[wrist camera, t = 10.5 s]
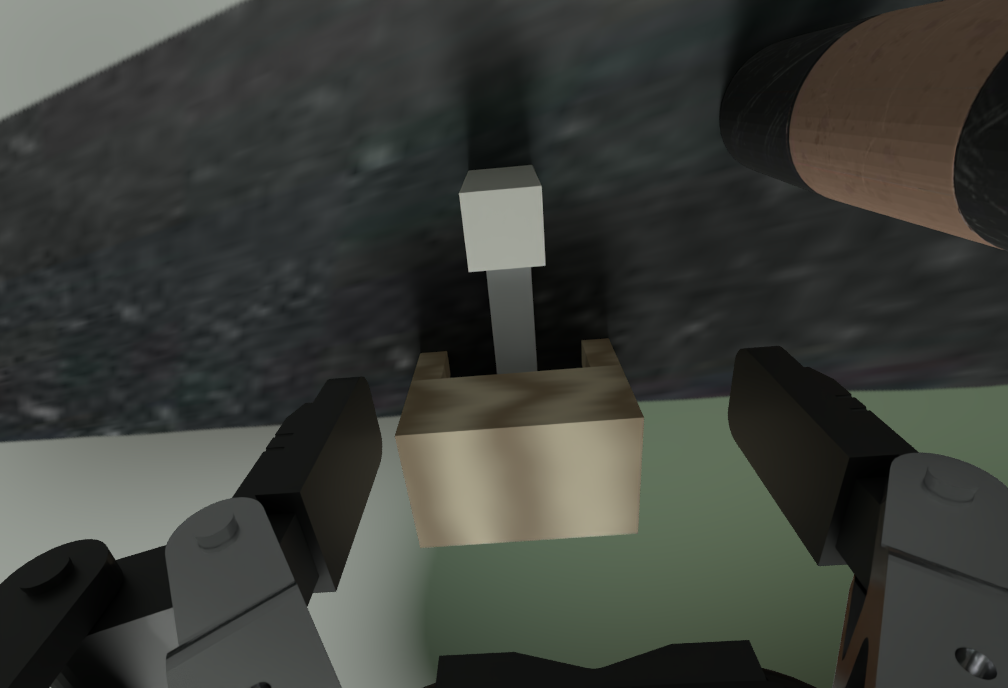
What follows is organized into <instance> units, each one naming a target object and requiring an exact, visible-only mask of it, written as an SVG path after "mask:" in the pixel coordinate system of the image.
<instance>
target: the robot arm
mask: <svg viewBox="0 0 1008 688" xmlns="http://www.w3.org/2000/svg"><path fill="white" fill-rule="evenodd" d="M728 420H729V427H730V430H731V434H732V436H733V438H734V440H735V442H736V443H737V445H738V446H739V448H740V449H741V451H742V452H743V453H744V455H745V457H746V458H747V460H748V461H749V462H750V464H751V466H752V467H753V468H754V470H755V471H756V473H757V475H758V476H759V478H760V479H761V481H762V482H763V484H764V485H765V487H766V488H767V490H768V491H769V493H770V494H771V495H772V497H773V499H774V500H775V502H776V503H777V505H778V506H779V508H780V509H781V511H782V512H783V514H784V515H785V517H786V518H787V520H788V521H789V523H790V524H791V526H792V527H793V529H794V530H795V532H796V533H797V535H798V536H799V538H800V539H801V541H802V542H803V544H804V545H805V547H806V548H807V550H808V551H809V553H810V554H811V556H812V557H813V559H814V560H815V562H816V563H817V565H818V566H829V565H846V564H847V565H848V566H849V567H850V569H851V570H852V571H853V573H854V576H853V580H852V582H851V585H850V589H849V594H848V600H847V606H846V612H845V618H844V624H843V630H842V636H841V642H840V648H839V654H838V660H837V666H836V672H835V677H834V682H833V686H832V688H1008V488H1007V487H1006V486H1005V485H1004V484H1003V483H1002V482H1001V481H999V480H998V479H997V478H995V477H994V476H992V475H990V474H989V473H988V472H986V471H984V470H982V469H980V468H978V467H976V466H974V465H971V464H969V463H967V462H964V461H961V460H958V459H955V458H951V457H948V456H944V455H939V454H932V453H919V452H918V451H917V450H915V449H914V448H913V447H912V446H911V445H910V444H908V443H907V442H906V441H905V440H904V439H903V438H901V437H900V436H899V435H898V434H896V433H895V431H893V430H892V429H891V428H890V427H889V426H888V425H886V424H885V423H884V422H883V421H882V420H880V419H879V418H878V417H877V416H876V415H875V414H874V413H872V412H871V411H870V410H869V411H867V410H866V406H864V405H863V404H862V403H861V402H860V401H859V400H857V399H856V398H854V397H853V398H852V397H851V394H850V393H849V392H848V391H847V390H846V389H845V388H844V387H842V386H841V385H840V384H839V383H838V382H837V381H835V380H834V379H833V378H830V377H828V376H826V375H824V374H822V373H820V372H818V371H816V370H814V369H812V368H810V367H803V366H802V365H801V364H800V363H799V362H798V361H797V360H795V359H794V358H793V357H792V356H791V355H790V354H789V353H788V352H787V351H786V350H784V349H783V348H782V347H780V346H770V347H757V348H744V349H740V350H739V351H738V353H737V355H736V358H735V364H734V371H733V378H732V386H731V393H730V400H729V407H728ZM381 457H382V438H381V432H380V428H379V424H378V420H377V416H376V412H375V408H374V404H373V400H372V396H371V392H370V388H369V385H368V382H367V380H366V379H365V378H364V377H351V378H338V379H329V380H327V382H326V383H325V385H324V386H323V388H322V389H321V391H320V392H319V394H318V396H317V397H316V399H315V400H314V402H313V403H305V404H304V405H303V406H301V407H300V408H299V409H297V410H296V411H295V412H294V413H292V414H291V415H290V416H288V417H287V418H286V419H285V421H284V422H283V424H282V425H281V427H280V428H279V430H278V431H277V433H276V434H275V438H273V439H272V440H271V441H270V443H269V444H268V446H267V447H266V451H265V452H263V453H262V455H261V456H260V458H259V459H258V461H257V462H256V463H255V465H254V466H253V468H252V469H251V471H250V472H249V474H248V475H247V477H246V478H245V479H244V481H243V482H242V484H241V485H240V487H239V488H238V490H237V491H236V493H235V494H234V496H233V497H232V498H230V499H226V500H222V501H219V502H216V503H214V504H211V505H209V506H207V507H205V508H203V509H201V510H200V511H198V512H196V513H195V514H193V515H192V516H190V517H189V518H188V519H186V521H184V522H183V523H182V524H181V525H180V526H179V527H178V528H177V529H176V530H175V531H174V533H173V534H172V535H171V537H170V538H169V541H168V542H167V545H165V546H161V547H158V548H155V549H152V550H148V551H145V552H141V553H138V554H135V555H131V556H128V557H125V558H121V559H118V560H115V558H114V557H113V555H112V554H111V552H110V551H109V549H108V547H107V546H106V545H105V544H104V543H103V542H101V541H99V540H93V539H85V540H78V541H74V542H70V543H67V544H64V545H61V546H58V547H56V548H54V549H51V550H49V551H47V552H45V553H43V554H41V555H39V556H37V557H36V558H34V559H32V560H31V561H29V562H27V563H26V564H25V565H23V566H22V567H20V568H19V569H17V570H16V571H15V572H14V573H12V574H11V575H10V576H9V577H8V578H7V579H5V580H4V581H3V582H2V583H1V584H0V688H49V687H51V688H342V687H341V685H340V682H339V680H338V678H337V676H336V673H335V671H334V668H333V666H332V664H331V661H330V659H329V657H328V655H327V652H326V650H325V648H324V645H323V643H322V641H321V638H320V636H319V634H318V631H317V629H316V627H315V624H314V622H313V620H312V618H311V615H310V613H309V611H308V608H307V606H308V604H309V601H310V599H311V596H312V594H313V593H321V592H336V590H337V587H338V584H339V581H340V579H341V575H342V573H343V570H344V567H345V564H346V561H347V558H348V555H349V552H350V549H351V546H352V543H353V541H354V538H355V535H356V532H357V529H358V526H359V523H360V520H361V517H362V514H363V512H364V509H365V506H366V503H367V500H368V497H369V493H370V491H371V488H372V485H373V482H374V480H375V477H376V474H377V470H378V468H379V465H380V462H381ZM424 688H816V687H814V686H812V685H810V684H807V683H805V682H803V681H800V680H798V679H796V678H794V677H791V676H787V675H785V674H782V673H779V672H776V671H772V670H769V669H764V668H761V666H760V664H759V661H758V659H757V657H756V655H755V652H754V650H753V648H752V646H751V643H750V641H749V640H741V641H721V642H703V643H682V644H670V645H667V646H664V647H661V648H659V649H656V650H652V651H650V652H647V653H644V654H641V655H638V656H635V657H632V658H629V659H626V660H623V661H620V662H617V663H614V664H611V665H609V666H606V667H602V668H598V669H590V668H584V667H580V666H575V665H571V664H566V663H561V662H557V661H552V660H548V659H543V658H539V657H534V656H529V655H525V654H520V653H516V652H508V653H507V652H506V653H486V654H466V655H446V656H439V662H438V671H437V679H436V683H434V684H431V685H428V686H425V687H424Z"/></svg>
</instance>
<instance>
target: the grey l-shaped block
mask: <svg viewBox="0 0 1008 688" xmlns="http://www.w3.org/2000/svg"><path fill="white" fill-rule="evenodd" d="M459 197H460V205H461V213H462V222H463V230H464V238H465V246H466V254H467V262H468V270H469V272H476V271H486V273H487V282H488V292H489V301H490V311H491V320H492V330H493V339H494V349H495V358H496V368H497V374H508V373H521V372H534V371H537V357H536V341H535V326H534V310H533V294H532V278H531V267H536V266H546V265H545V245H544V224H543V204H542V186H541V183H540V181H539V179H538V177H537V175H536V173H535V170H534V168H533V166H532V165H525V166H514V167H503V168H492V169H481V170H470V171H468V173H467V175H466V178H465V180H464V182H463V185H462V187H461V190H460V192H459Z"/></svg>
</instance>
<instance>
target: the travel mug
mask: <svg viewBox="0 0 1008 688" xmlns="http://www.w3.org/2000/svg"><path fill="white" fill-rule="evenodd" d="M720 130H721V136H722V139H723V142H724V144H725V146H726V148H727V150H728V151H729V153H730V154H731V155H732V156H733V158H734V159H735V160H737V161H738V162H739V163H741V164H742V165H744V166H746V167H748V168H750V169H752V170H755V171H757V172H760V173H762V174H765V175H768V176H771V177H773V178H776V179H779V180H781V181H784V182H787V183H789V184H792V185H795V186H797V187H800V188H803V189H805V190H808V191H811V192H813V193H816V194H819V195H821V196H824V197H827V198H830V199H833V200H836V201H840V202H843V203H846V204H850V205H853V206H857V207H860V208H863V209H867V210H870V211H874V212H877V213H880V214H884V215H887V216H891V217H894V218H897V219H901V220H904V221H908V222H911V223H914V224H918V225H921V226H925V227H928V228H931V229H935V230H938V231H942V232H945V233H948V234H952V235H955V236H959V237H962V238H966V239H969V240H972V241H976V242H979V243H983V244H986V245H989V246H993V247H996V248H1000V249H1003V250H1007V251H1008V0H946V1H941V2H936V3H931V4H926V5H921V6H916V7H911V8H906V9H901V10H896V11H892V12H888V13H884V14H880V15H876V16H872V17H868V18H864V19H861V20H857V21H853V22H849V23H846V24H842V25H838V26H834V27H830V28H827V29H823V30H819V31H815V32H811V33H808V34H804V35H800V36H796V37H792V38H789V39H786V40H782V41H779V42H777V43H774V44H772V45H769V46H767V47H765V48H764V49H762V50H760V51H759V52H757V53H756V54H755V55H753V56H752V57H751V58H750V59H749V60H748V61H746V62H745V64H744V65H743V66H742V67H741V68H740V69H739V70H738V72H737V73H736V74H735V76H734V77H733V79H732V81H731V82H730V84H729V86H728V88H727V90H726V92H725V95H724V98H723V101H722V106H721V110H720Z"/></svg>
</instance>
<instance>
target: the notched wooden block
mask: <svg viewBox="0 0 1008 688" xmlns="http://www.w3.org/2000/svg"><path fill="white" fill-rule="evenodd" d="M581 348H582V367H583V368H573V369H560V370H547V371H534V372H521V373H508V374H495V375H482V376H469V377H456V378H450V375H451V374H450V367H449V361H448V354H447V351H442V352H429V353H420V356H419V359H418V363H417V366H416V369H415V372H414V375H413V379H412V382H411V385H410V388H409V392H408V395H407V398H406V401H405V405H404V408H403V411H402V414H401V418H400V421H399V424H398V427H397V431H396V434H395V439H396V443H397V447H398V452H399V456H400V460H401V465H402V469H403V473H404V478H405V482H406V487H407V491H408V495H409V500H410V504H411V508H412V513H413V517H414V522H415V526H416V530H417V535H418V539H419V543H420V548H427V547H441V546H457V545H470V544H487V543H501V542H517V541H531V540H547V539H561V538H577V537H591V536H606V535H622V534H637V533H638V522H639V503H640V484H641V463H642V446H643V427H644V416H643V414H642V412H641V410H640V408H639V405H638V403H637V401H636V399H635V396H634V394H633V392H632V390H631V387H630V385H629V383H628V381H627V378H626V376H625V374H624V372H623V370H622V367H621V365H620V363H619V361H618V358H617V356H616V354H615V352H614V349H613V347H612V345H611V343H610V340H609V338H607V339H594V340H581Z"/></svg>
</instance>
